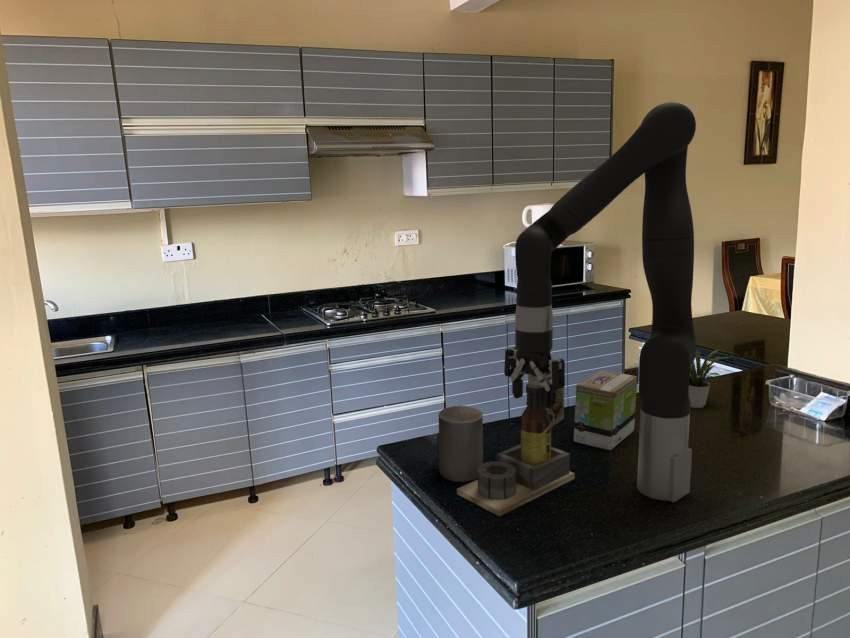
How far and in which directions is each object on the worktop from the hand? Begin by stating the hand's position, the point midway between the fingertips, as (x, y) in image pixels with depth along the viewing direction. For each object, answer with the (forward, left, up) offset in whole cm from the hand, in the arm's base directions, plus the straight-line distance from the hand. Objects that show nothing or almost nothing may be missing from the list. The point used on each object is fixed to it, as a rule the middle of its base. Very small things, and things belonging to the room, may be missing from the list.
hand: (533, 402), depth 134 cm
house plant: (-2, -67, -17) cm, 69 cm away
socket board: (0, +5, -17) cm, 18 cm away
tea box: (+3, -30, -18) cm, 35 cm away
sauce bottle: (-1, 0, -16) cm, 16 cm away
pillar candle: (+13, +9, -17) cm, 23 cm away
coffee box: (+19, -27, -17) cm, 37 cm away
